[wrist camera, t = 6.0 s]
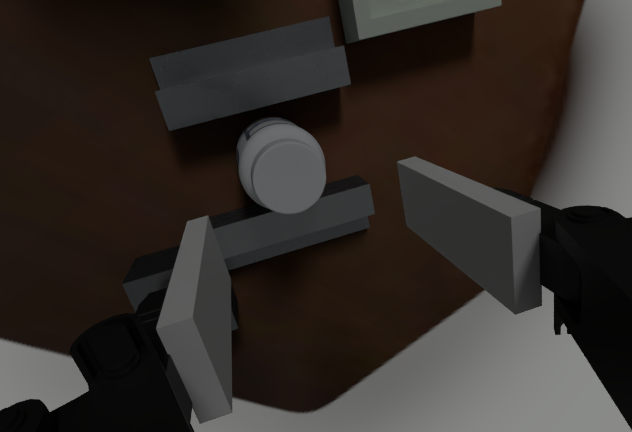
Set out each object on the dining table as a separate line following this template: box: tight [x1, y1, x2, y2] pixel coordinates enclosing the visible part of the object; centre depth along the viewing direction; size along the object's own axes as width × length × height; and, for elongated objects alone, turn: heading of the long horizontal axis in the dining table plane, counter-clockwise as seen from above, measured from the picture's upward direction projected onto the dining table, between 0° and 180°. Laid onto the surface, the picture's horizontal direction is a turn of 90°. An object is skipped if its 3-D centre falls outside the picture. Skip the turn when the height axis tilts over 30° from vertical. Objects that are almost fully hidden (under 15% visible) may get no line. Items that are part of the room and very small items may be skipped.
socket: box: [149, 16, 375, 270], centre depth 28 cm, size 12×16×3 cm
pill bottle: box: [236, 116, 326, 214], centre depth 25 cm, size 5×5×9 cm
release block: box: [122, 246, 238, 331], centre depth 29 cm, size 6×6×4 cm
